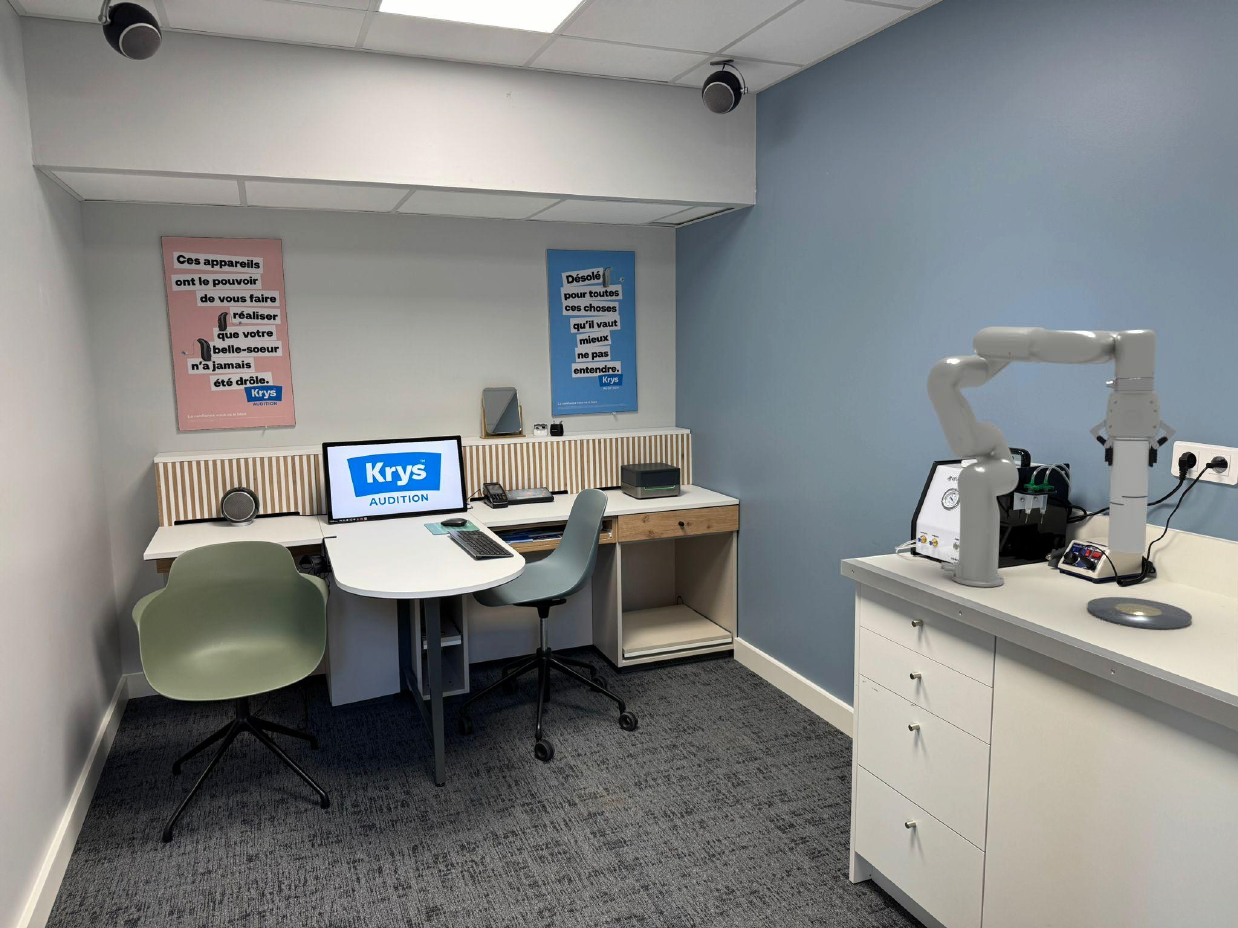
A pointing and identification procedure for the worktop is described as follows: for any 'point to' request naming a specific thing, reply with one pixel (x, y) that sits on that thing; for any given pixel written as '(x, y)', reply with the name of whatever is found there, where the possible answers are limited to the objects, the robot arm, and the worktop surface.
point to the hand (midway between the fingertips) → (1130, 465)
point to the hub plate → (1139, 613)
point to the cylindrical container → (1128, 495)
